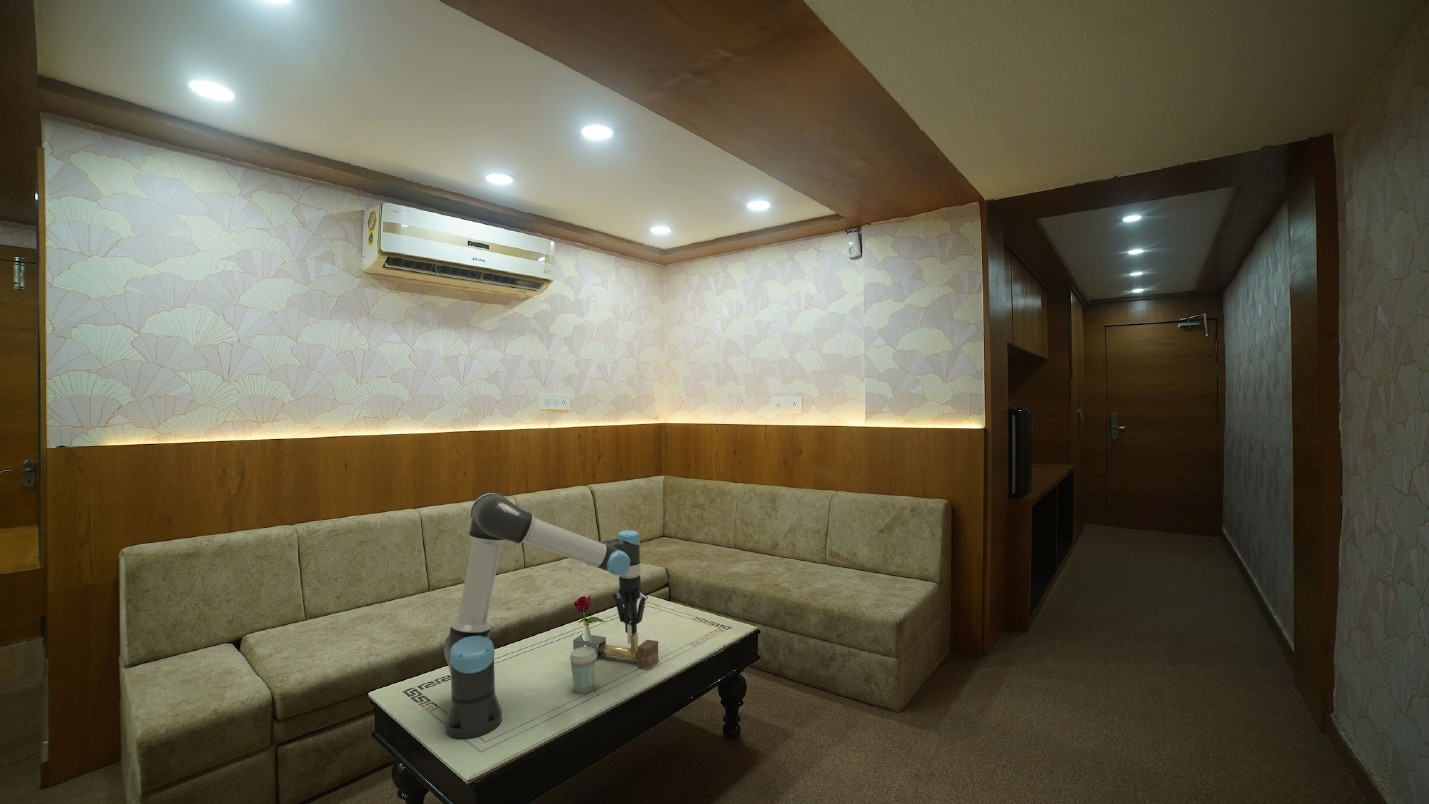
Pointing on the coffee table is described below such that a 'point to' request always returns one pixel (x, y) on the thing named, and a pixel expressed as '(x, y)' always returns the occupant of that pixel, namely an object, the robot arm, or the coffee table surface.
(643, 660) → the brown wooden block
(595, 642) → the sleeve
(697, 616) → the coffee table surface
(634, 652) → the tube
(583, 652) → the coffee cup
